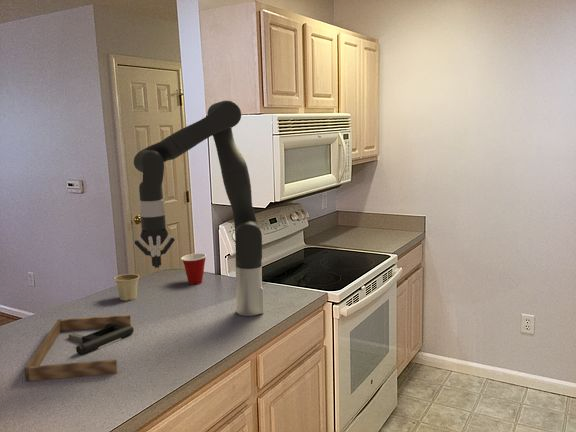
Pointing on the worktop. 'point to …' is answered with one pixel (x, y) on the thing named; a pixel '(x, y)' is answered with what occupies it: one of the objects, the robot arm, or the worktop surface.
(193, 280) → the plastic cup
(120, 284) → the flower pot
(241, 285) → the robot arm
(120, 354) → the worktop surface
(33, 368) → the box
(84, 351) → the door handle
